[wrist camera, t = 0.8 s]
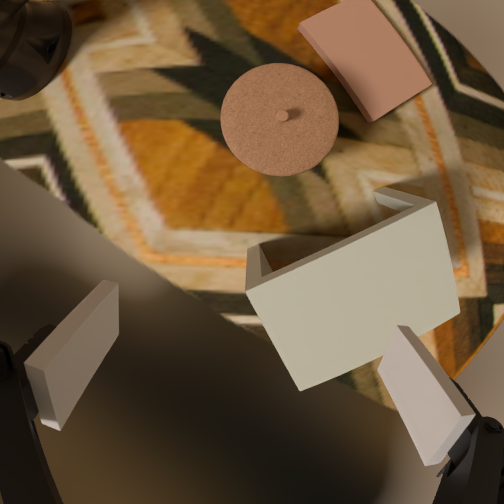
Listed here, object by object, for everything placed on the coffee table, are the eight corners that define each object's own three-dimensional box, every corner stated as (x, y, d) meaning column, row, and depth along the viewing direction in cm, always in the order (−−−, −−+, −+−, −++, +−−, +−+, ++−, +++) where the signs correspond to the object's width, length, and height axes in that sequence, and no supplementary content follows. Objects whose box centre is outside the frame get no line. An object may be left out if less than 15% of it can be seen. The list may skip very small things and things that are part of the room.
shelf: (247, 249, 39) (245, 291, 27) (383, 186, 36) (436, 201, 24) (288, 329, 42) (299, 391, 30) (410, 271, 39) (460, 312, 27)
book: (297, 30, 32) (299, 22, 29) (358, 0, 30) (364, -8, 27) (366, 123, 35) (373, 121, 32) (422, 87, 33) (432, 84, 31)
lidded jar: (340, 130, 35) (368, 123, 26) (273, 192, 37) (279, 203, 28) (276, 63, 32) (283, 35, 23) (207, 125, 35) (192, 114, 26)
